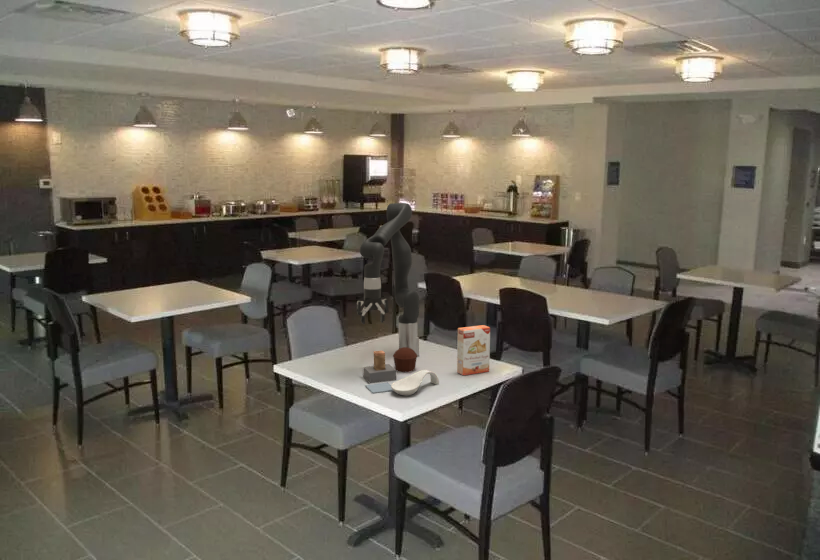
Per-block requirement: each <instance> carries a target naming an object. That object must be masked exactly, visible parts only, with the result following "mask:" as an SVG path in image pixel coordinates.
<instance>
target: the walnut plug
mask: <svg viewBox="0 0 820 560" xmlns="http://www.w3.org/2000/svg"><path fill="white" fill-rule="evenodd" d="M385 364H386V352H385V351H384V350H375V351H373V366H374V369H375V370H376V371H378V370H385Z"/></svg>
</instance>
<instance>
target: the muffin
mask: <svg viewBox="0 0 820 560" xmlns="http://www.w3.org/2000/svg"><path fill="white" fill-rule="evenodd" d="M392 357H393V361H394V369H396V372H401V373H411V372H414V371H415V369H416V366H417V365H416V363H417V358H418V356H417V354H416V353H415V351H414V350H412V349H411V348H408V347H403V348H400V349H399V348H398V349H397V350H395V352H394V353H393V355H392Z"/></svg>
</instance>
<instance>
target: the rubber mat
mask: <svg viewBox="0 0 820 560" xmlns="http://www.w3.org/2000/svg"><path fill="white" fill-rule="evenodd" d="M391 385H392V384H390V383H389V381H386V382H378V383H370V384H366V385H365V387H366V389H368V391H369V392H370V393H371V394H380V393H388V392H394V391H393V390H392V388H391Z"/></svg>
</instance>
